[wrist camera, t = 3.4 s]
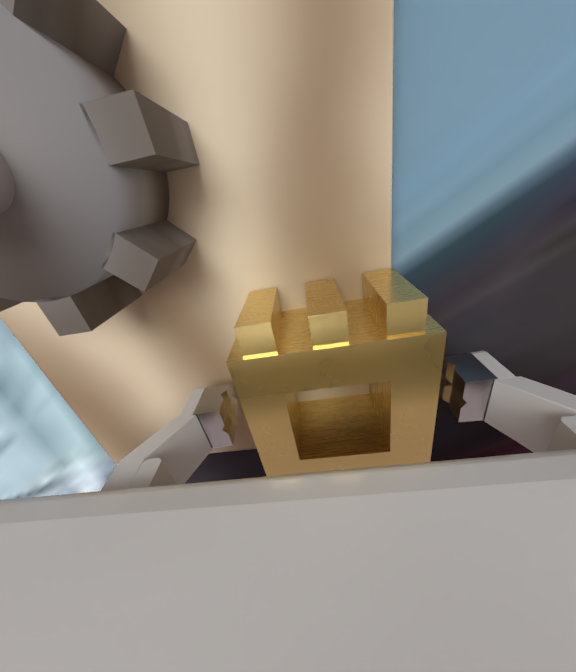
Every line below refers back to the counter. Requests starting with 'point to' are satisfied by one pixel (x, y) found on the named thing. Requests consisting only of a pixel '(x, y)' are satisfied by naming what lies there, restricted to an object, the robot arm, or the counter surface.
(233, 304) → the gear board
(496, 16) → the counter surface
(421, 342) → the toothed rectangular frame
